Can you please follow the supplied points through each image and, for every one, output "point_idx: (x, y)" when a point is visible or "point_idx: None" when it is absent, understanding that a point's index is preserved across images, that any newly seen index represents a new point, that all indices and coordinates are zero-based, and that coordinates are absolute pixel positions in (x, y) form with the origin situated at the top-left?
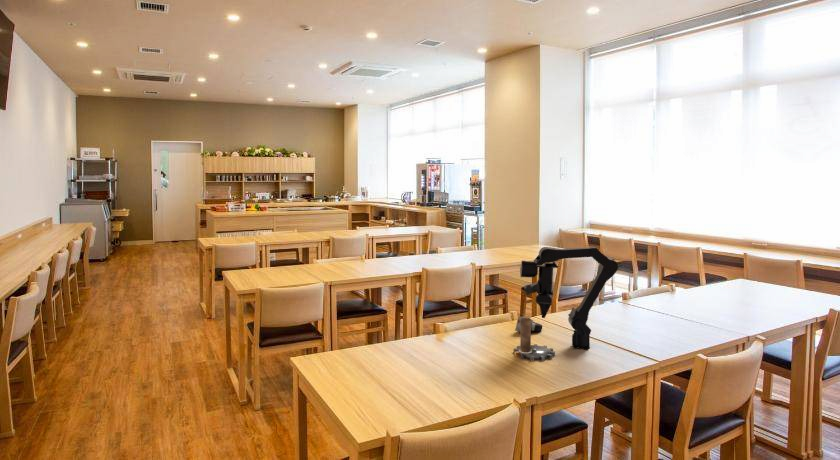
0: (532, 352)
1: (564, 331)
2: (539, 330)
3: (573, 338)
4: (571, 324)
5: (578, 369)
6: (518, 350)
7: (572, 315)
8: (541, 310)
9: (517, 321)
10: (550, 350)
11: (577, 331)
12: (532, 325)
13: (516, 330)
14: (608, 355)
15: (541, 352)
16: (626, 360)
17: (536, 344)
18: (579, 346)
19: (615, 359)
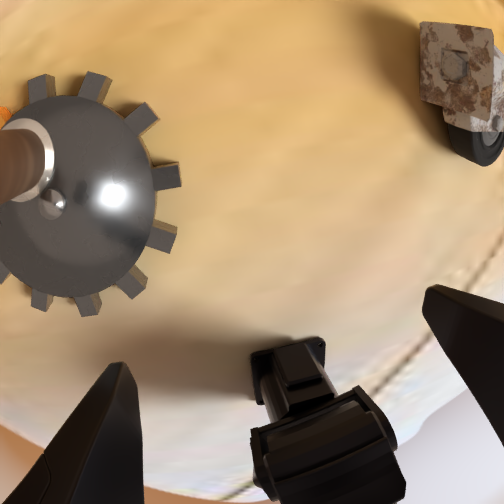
0: (21, 205)
1: (466, 255)
2: (456, 150)
3: (282, 377)
4: (270, 451)
5: (21, 394)
6: (18, 116)
7: (315, 492)
8: (49, 461)
9: (463, 26)
10: (100, 290)
11: (253, 441)
12: (464, 115)
13: (421, 28)
14: (213, 447)
15: (43, 253)
16: (189, 474)
17: (173, 181)
18: (259, 378)
19: (183, 461)
